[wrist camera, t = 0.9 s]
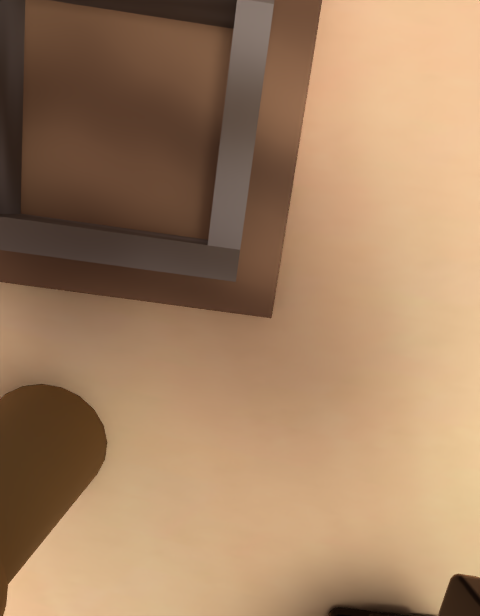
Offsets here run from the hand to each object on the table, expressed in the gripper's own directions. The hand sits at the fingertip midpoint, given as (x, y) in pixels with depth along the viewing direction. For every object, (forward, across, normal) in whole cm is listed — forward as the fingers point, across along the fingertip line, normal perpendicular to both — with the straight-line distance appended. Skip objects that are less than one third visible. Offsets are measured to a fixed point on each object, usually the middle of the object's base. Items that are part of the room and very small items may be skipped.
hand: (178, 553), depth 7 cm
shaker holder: (+13, +5, -8) cm, 16 cm away
